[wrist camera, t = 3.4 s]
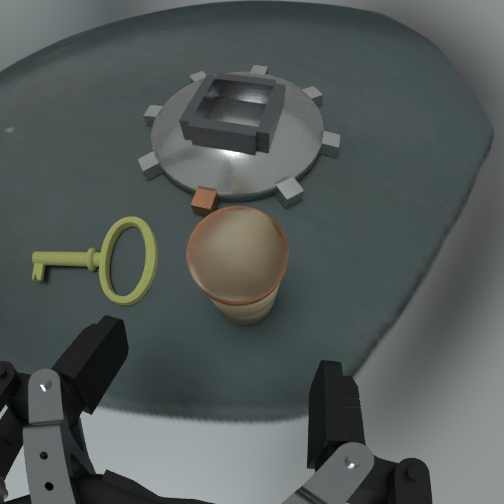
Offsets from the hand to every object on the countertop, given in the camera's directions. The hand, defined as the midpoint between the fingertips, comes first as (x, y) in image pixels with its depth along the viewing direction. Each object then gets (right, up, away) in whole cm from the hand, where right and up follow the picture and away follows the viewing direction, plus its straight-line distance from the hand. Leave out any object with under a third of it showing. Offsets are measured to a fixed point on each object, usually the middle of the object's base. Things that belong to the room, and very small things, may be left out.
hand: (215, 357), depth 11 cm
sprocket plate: (0, +16, +16) cm, 22 cm away
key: (-12, +3, +12) cm, 17 cm away
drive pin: (+1, +1, +10) cm, 10 cm away
